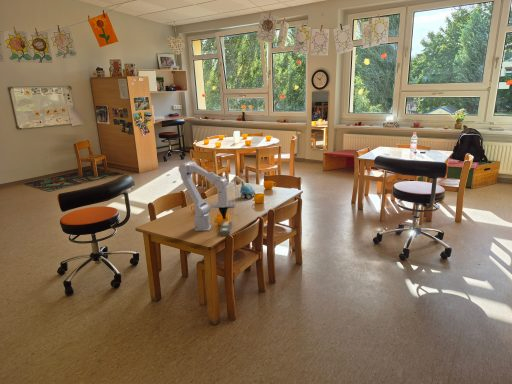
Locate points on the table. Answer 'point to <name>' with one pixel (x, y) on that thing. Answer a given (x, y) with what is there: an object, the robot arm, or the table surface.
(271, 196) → the table surface
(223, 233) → the grey button panel
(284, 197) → the table surface
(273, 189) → the table surface
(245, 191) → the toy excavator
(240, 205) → the table surface
